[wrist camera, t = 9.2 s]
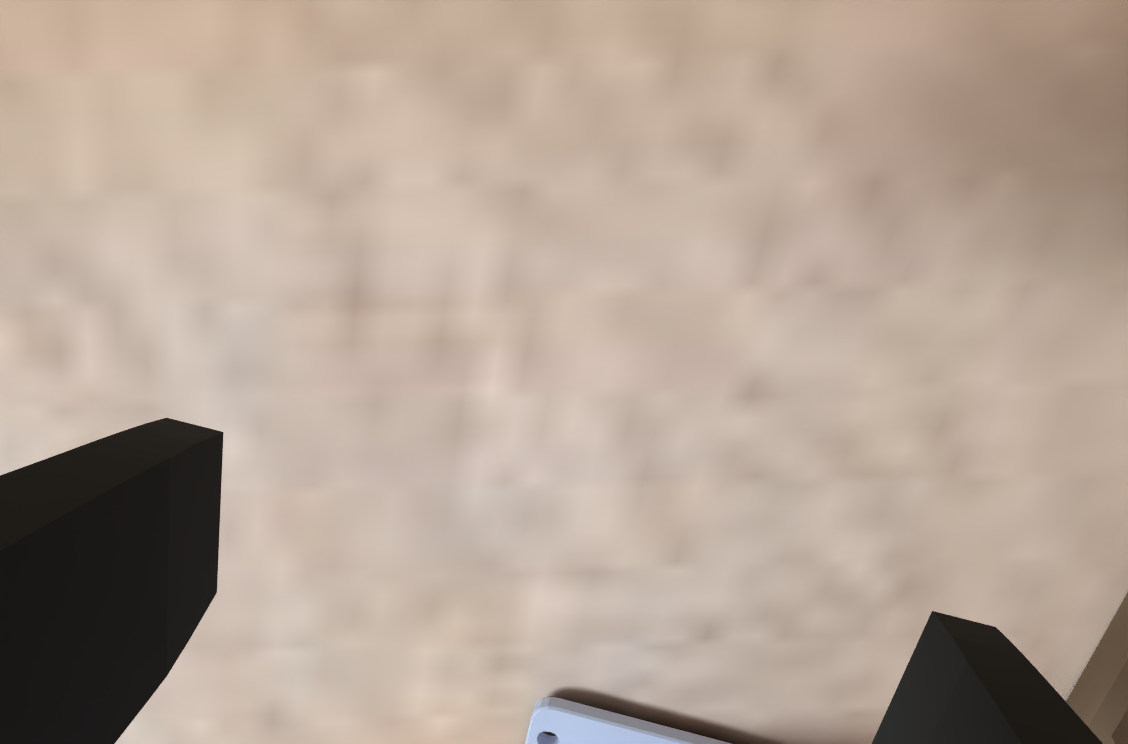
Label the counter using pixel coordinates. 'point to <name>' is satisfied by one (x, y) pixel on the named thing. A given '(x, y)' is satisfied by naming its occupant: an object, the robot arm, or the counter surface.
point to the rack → (1106, 684)
